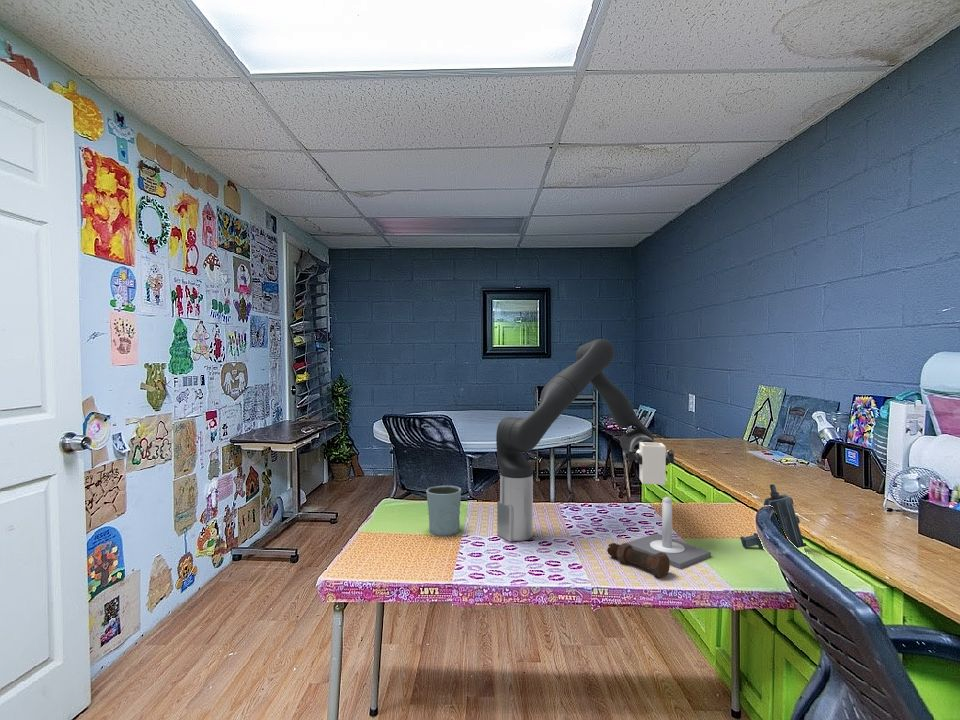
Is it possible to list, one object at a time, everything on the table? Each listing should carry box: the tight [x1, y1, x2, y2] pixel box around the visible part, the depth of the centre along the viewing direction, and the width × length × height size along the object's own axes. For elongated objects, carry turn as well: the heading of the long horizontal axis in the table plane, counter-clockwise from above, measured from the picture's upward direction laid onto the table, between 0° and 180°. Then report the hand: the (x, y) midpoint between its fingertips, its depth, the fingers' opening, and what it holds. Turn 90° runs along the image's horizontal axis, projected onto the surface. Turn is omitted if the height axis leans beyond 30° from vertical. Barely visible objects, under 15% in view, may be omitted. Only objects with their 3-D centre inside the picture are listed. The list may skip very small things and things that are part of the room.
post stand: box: [626, 496, 712, 570], centre depth 127 cm, size 13×16×14 cm
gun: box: [739, 483, 808, 549], centre depth 129 cm, size 3×17×15 cm
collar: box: [638, 442, 667, 486], centre depth 132 cm, size 6×6×10 cm
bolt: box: [606, 542, 671, 579], centre depth 119 cm, size 6×5×15 cm
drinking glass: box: [425, 485, 462, 537], centre depth 143 cm, size 10×10×12 cm
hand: (653, 461), depth 130 cm, fingers closed on collar, 5 cm apart
